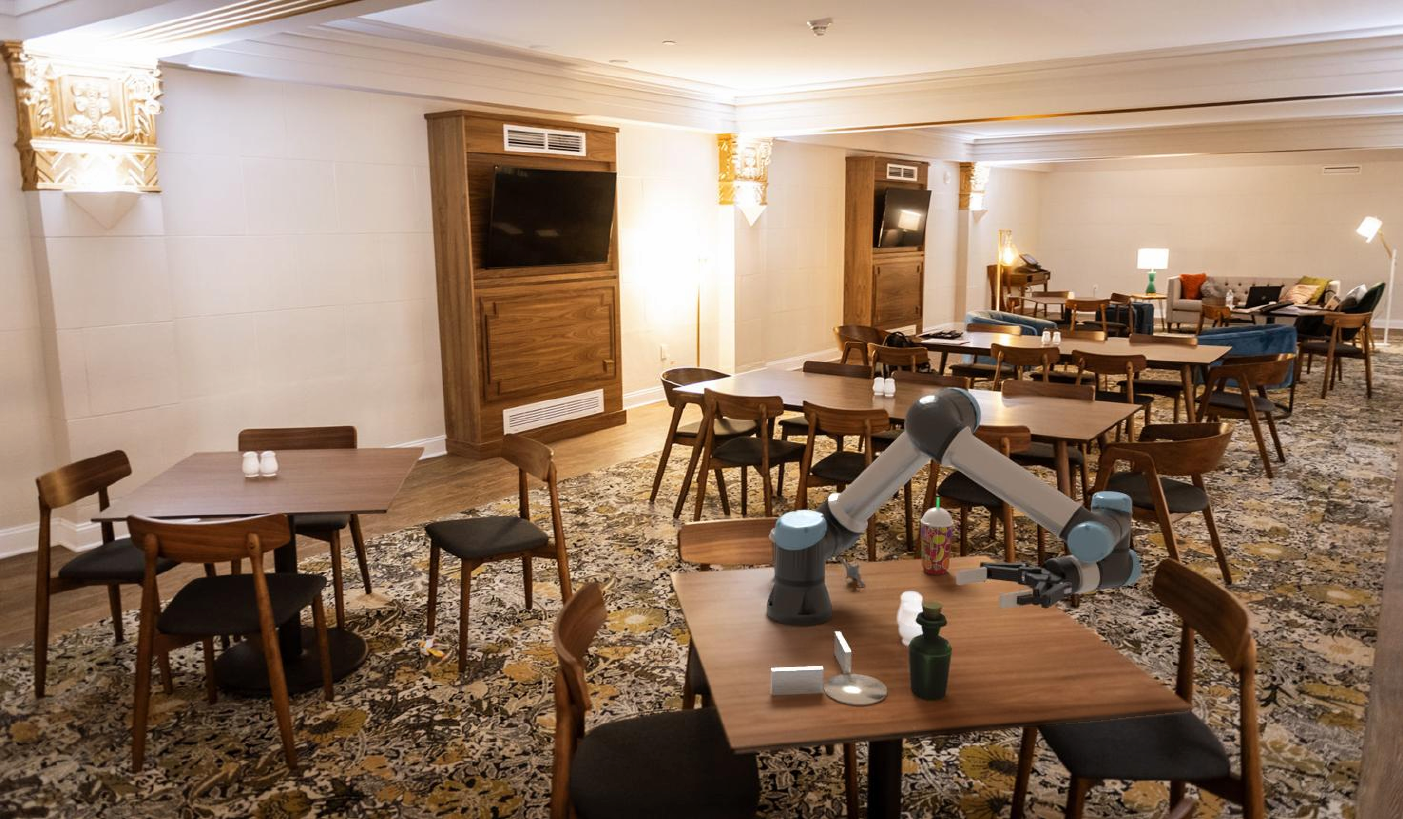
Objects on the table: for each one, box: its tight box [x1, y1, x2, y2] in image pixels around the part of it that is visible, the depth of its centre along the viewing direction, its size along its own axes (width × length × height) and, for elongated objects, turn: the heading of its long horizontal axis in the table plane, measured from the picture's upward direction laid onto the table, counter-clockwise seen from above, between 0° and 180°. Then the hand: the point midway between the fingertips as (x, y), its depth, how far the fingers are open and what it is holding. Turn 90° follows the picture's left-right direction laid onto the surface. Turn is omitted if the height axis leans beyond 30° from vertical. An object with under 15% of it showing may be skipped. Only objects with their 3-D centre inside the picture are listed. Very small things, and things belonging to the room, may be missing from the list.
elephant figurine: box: [837, 555, 867, 587], centre depth 245 cm, size 10×6×9 cm
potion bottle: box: [908, 600, 953, 702], centre depth 184 cm, size 8×8×18 cm
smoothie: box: [920, 496, 955, 576], centre depth 250 cm, size 8×8×20 cm
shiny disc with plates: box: [770, 631, 888, 706], centre depth 189 cm, size 19×24×5 cm
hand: (978, 589), depth 185 cm, fingers open, 13 cm apart
